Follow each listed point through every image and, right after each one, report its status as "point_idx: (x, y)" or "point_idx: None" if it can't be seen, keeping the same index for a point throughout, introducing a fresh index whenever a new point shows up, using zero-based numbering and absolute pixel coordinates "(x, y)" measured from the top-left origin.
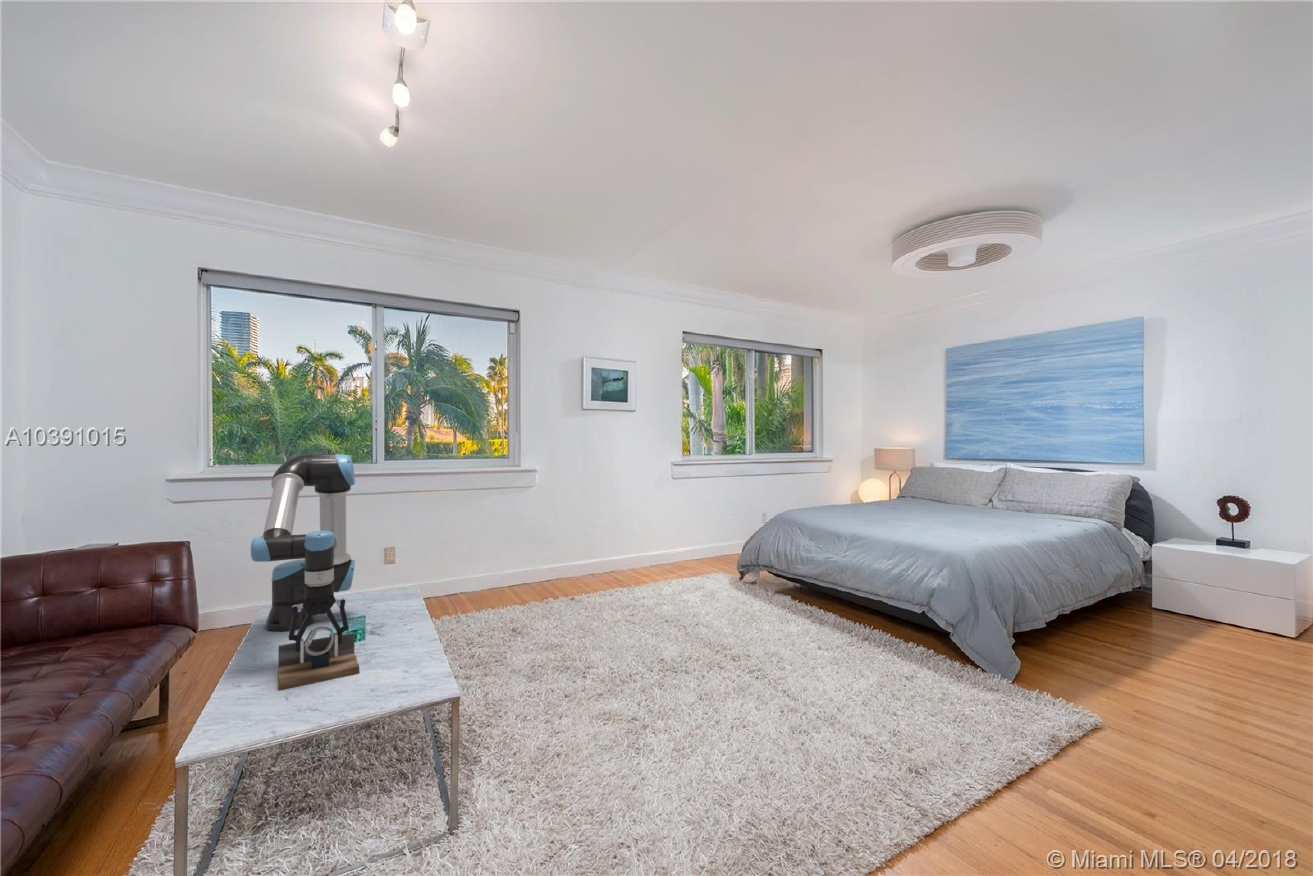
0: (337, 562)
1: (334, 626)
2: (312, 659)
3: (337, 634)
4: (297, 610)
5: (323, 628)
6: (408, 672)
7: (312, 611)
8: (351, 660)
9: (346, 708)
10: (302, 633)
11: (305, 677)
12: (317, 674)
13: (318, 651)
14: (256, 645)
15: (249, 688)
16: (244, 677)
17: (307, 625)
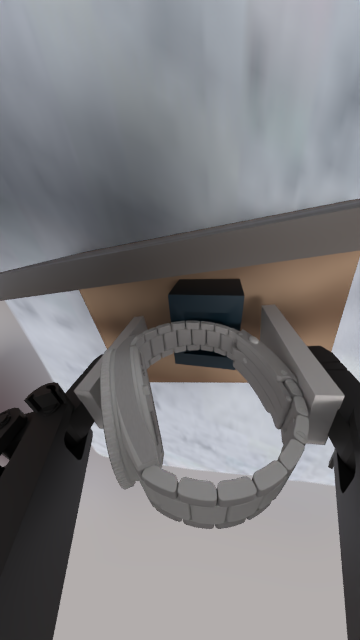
0: None
1: (349, 568)
2: (179, 361)
3: (327, 437)
4: None
5: (223, 525)
6: None
7: None
8: (316, 325)
9: (250, 462)
10: (74, 490)
11: (175, 381)
12: (202, 379)
13: (193, 302)
14: None
15: (63, 333)
16: (2, 254)
17: (56, 615)
